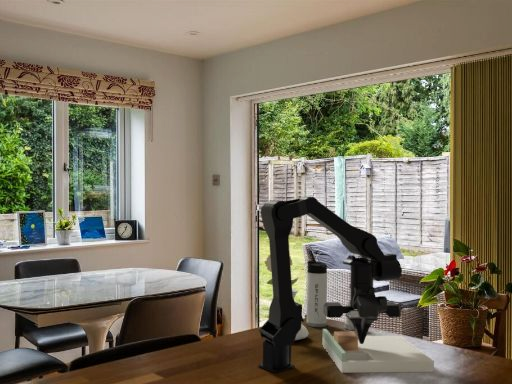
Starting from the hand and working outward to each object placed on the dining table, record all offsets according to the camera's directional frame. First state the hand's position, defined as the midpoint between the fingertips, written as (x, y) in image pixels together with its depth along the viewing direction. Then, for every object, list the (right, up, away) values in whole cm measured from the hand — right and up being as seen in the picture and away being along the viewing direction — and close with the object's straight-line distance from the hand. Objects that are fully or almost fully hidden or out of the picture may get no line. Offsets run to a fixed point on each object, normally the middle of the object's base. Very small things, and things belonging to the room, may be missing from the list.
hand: (361, 343), depth 140 cm
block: (-4, -1, 0) cm, 4 cm away
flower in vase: (-18, -4, +18) cm, 26 cm away
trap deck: (+3, -4, 0) cm, 5 cm away
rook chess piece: (+3, -4, +31) cm, 31 cm away
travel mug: (-8, -4, +34) cm, 35 cm away
